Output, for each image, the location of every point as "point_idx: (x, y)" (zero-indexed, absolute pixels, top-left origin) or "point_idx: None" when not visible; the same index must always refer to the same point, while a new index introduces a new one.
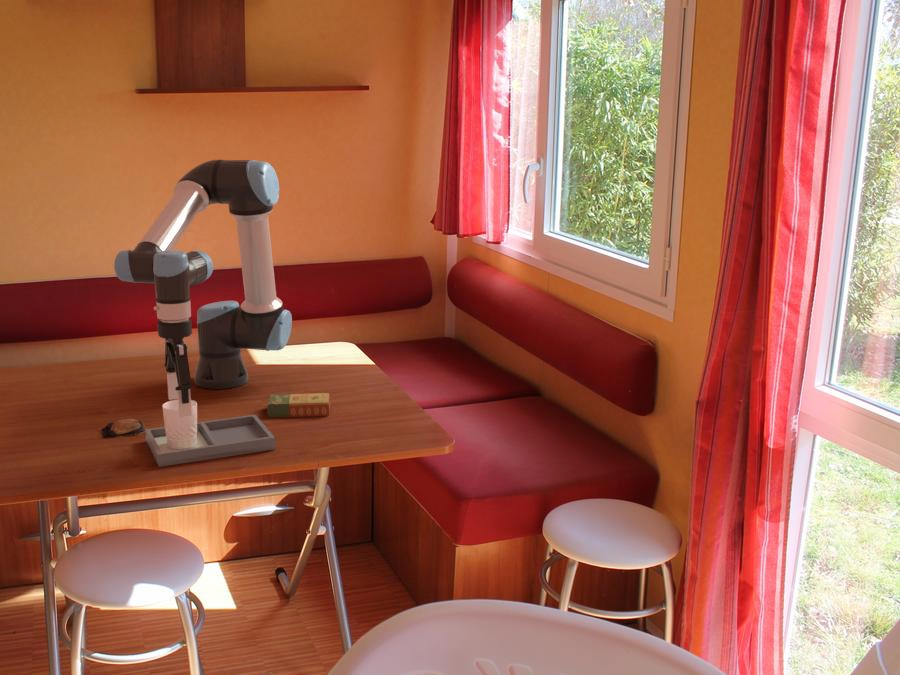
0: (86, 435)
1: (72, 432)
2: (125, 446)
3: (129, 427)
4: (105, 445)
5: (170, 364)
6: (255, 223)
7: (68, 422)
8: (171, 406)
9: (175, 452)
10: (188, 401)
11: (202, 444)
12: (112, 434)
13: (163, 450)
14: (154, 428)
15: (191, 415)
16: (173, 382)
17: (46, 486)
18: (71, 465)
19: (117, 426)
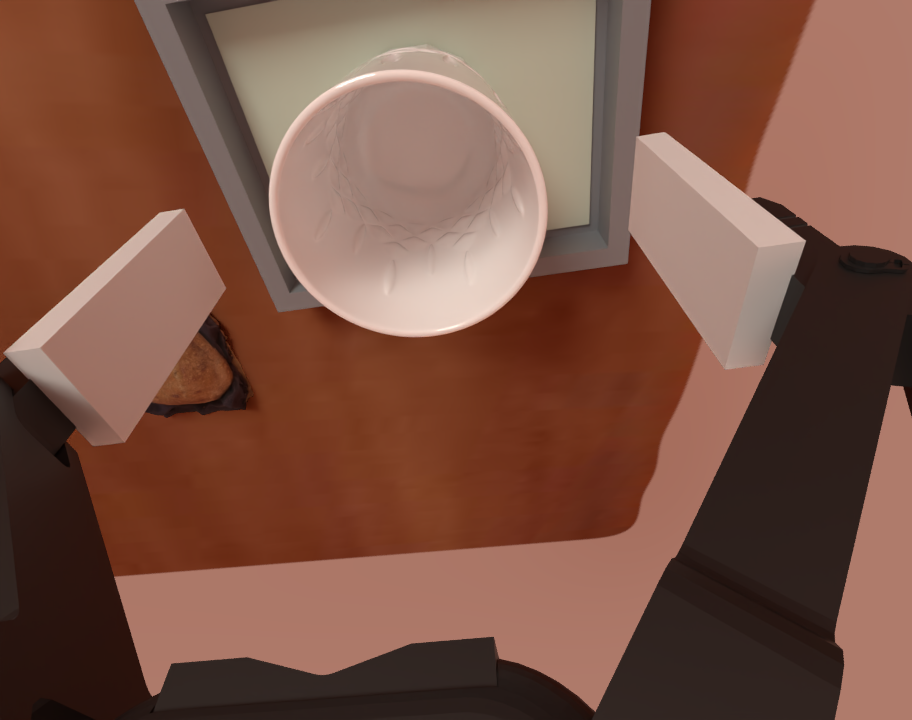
0: (224, 444)
1: (197, 473)
2: (344, 346)
3: (196, 354)
4: (325, 398)
5: (79, 520)
6: None
7: (104, 486)
8: (322, 264)
9: None
10: (777, 208)
11: (449, 5)
12: (241, 392)
13: None
14: (266, 275)
15: (666, 135)
16: (142, 333)
17: (611, 490)
18: (482, 459)
19: (201, 393)
